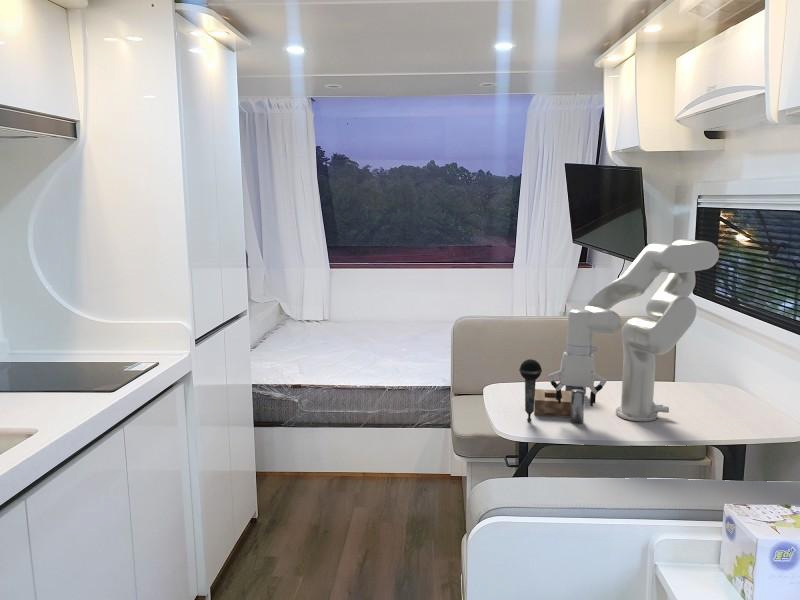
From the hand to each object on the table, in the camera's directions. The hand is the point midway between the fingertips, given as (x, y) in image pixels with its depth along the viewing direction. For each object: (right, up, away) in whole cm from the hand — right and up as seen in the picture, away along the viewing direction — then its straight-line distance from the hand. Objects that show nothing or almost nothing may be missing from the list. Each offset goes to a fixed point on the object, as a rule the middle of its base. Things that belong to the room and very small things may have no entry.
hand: (575, 403), depth 197 cm
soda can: (+8, -2, +27) cm, 28 cm away
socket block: (-4, -4, +12) cm, 14 cm away
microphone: (-14, -6, +2) cm, 15 cm away
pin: (+1, -6, +1) cm, 6 cm away
